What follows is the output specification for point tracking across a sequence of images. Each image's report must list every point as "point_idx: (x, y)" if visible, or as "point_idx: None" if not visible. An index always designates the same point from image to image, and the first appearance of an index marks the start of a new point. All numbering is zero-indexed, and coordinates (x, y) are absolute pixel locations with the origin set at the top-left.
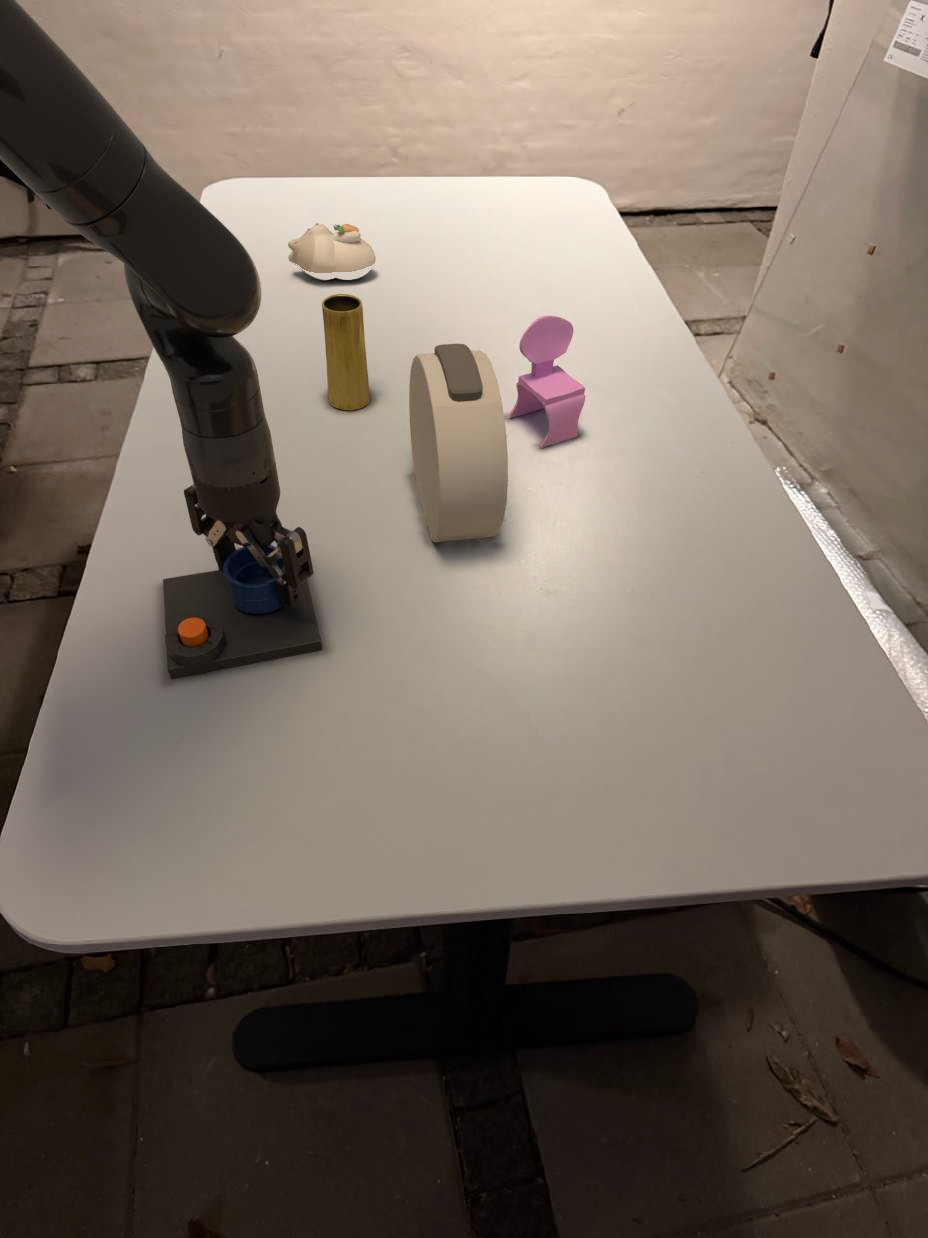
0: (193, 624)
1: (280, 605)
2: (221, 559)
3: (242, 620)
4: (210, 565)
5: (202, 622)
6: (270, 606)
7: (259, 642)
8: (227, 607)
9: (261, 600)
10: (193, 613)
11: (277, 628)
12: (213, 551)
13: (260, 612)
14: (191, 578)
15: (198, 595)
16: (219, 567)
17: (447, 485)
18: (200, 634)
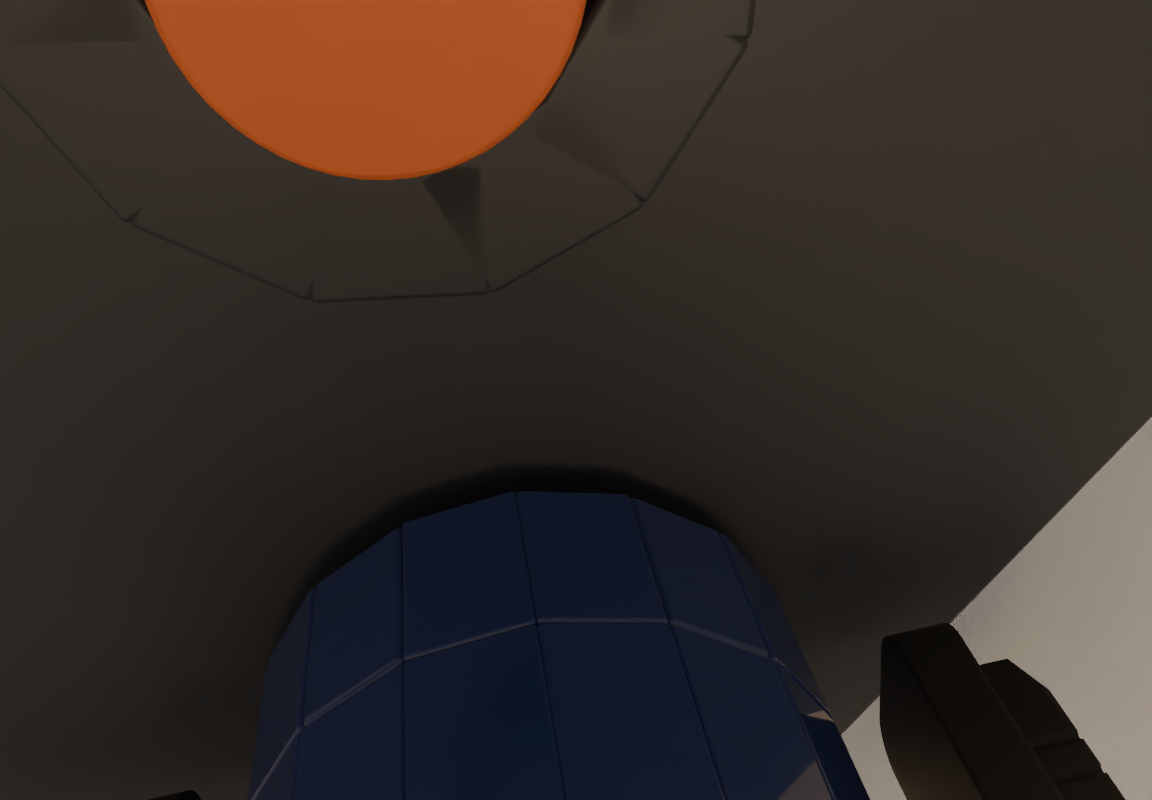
0: (401, 25)
1: (173, 797)
2: (975, 796)
3: (384, 438)
4: (1123, 500)
5: (345, 153)
6: (260, 718)
7: (5, 417)
8: (621, 421)
9: (276, 759)
10: (813, 152)
11: (94, 596)
12: (1122, 797)
13: (305, 608)
14: (1147, 367)
15: (948, 310)
16: (961, 667)
17: None
18: None
